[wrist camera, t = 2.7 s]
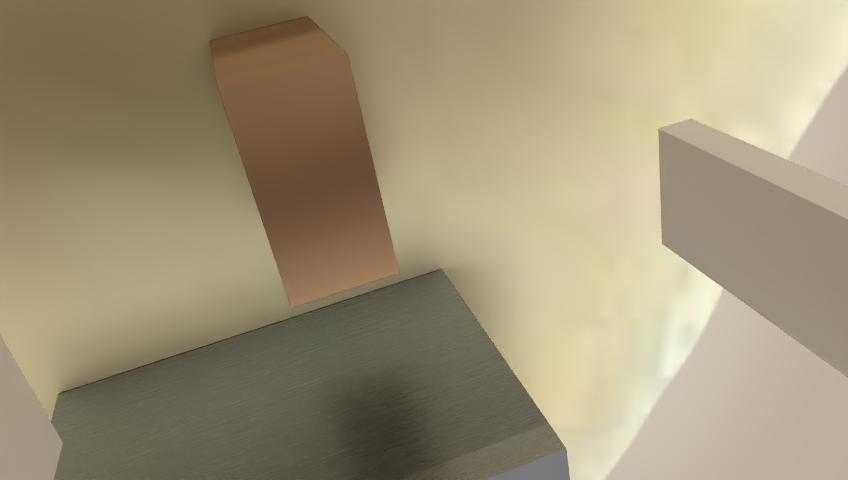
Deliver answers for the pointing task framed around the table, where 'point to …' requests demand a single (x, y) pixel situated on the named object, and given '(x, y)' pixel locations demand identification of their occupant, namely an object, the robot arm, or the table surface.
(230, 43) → the block
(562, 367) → the table surface
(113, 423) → the coin box
